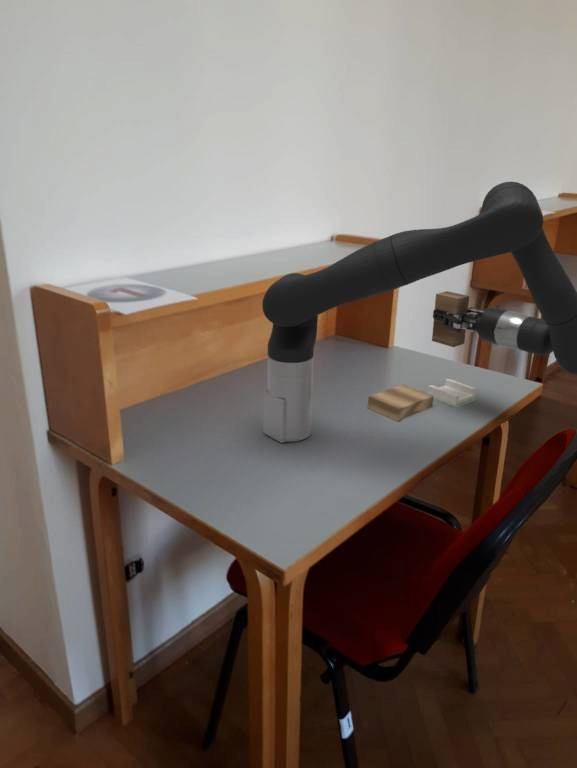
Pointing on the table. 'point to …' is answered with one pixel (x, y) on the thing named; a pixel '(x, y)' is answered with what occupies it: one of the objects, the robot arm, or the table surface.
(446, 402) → the mat
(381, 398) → the flat wooden block
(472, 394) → the rack
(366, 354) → the table surface
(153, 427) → the table surface
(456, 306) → the tall wooden pillar
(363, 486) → the table surface
